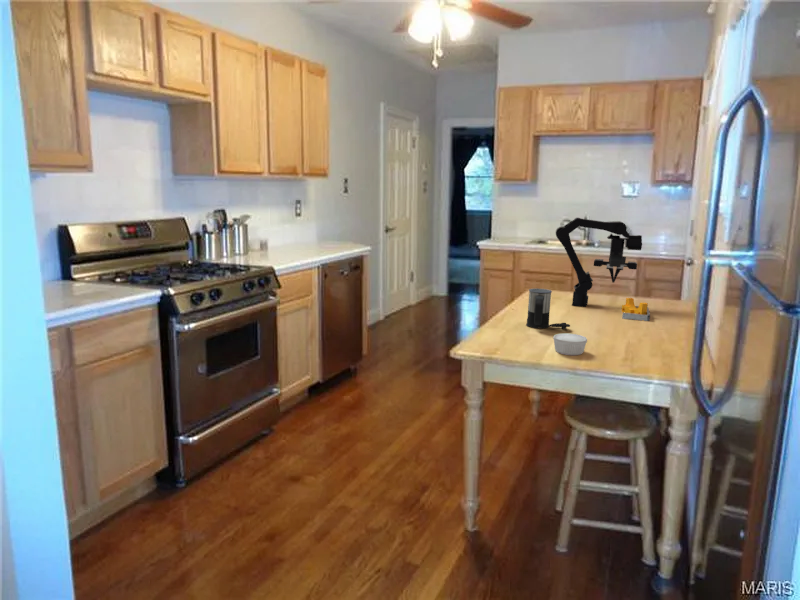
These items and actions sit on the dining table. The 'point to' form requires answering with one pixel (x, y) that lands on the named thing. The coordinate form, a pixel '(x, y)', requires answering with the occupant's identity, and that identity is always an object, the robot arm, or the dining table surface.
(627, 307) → the pipe clamp
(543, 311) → the milk frother
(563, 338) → the ramekin
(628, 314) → the rail bay
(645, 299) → the dining table surface
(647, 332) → the dining table surface
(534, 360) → the dining table surface
